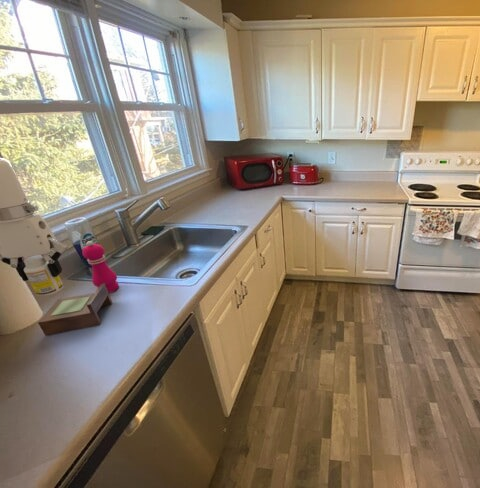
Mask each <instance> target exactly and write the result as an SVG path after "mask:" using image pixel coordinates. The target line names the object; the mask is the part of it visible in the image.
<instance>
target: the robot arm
mask: <svg viewBox="0 0 480 488" xmlns="http://www.w3.org/2000/svg"><path fill="white" fill-rule="evenodd" d="M37 211H39V206H38V205H37V204H35V205H33V204H32V203H31V202H30V201H29V198H28V196H27V194H26V192H25V191H24V188H23V186H22V184H21V182H20V180H19V177H18V175H17V174H16V171H15V169H14V167H13V165H12V163H11V162H10V161H9V160H8V159H6V158H3V157H0V261H1V262H2V263H4V264H5V265H6V264H7V265H8V266H10V267H11V268H12V269H15V270H16V272H17V274H18V275H19V277H20V278H21V280H22V281H23V282H27V281H29V279H28V278H27V276H26V274H25V272H24V268H25V267H26V265H25V263H24V260H25V259H24V258H27V257H32V256H36V255H41V256H42V257H43V258H44V259H45V260H46V261H47V262H49V263H48V264H47V266H48V268H49V270H50V272H51V274H52V276H53V277H57V276H58V275H60V274H61V273H63V268H62V266H61V264H60V261H59V259H60V257H61V256H62V255H63V253H64V252H65V251H66V250H67V249H68V245H66V244H64V243H63V242H61V241H58V240H57V238H56V236H55V234H54V232H53V231H52V229H51V227H50V225H49V224H48V223H47V221H46V220H45V219H44V217H43V216H42V215H41V214H40V213H39V212H37ZM54 248H55V249H56V251H55V250H54Z"/></svg>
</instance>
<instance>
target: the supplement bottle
mask: <svg viewBox="0 0 480 488" xmlns="http://www.w3.org/2000/svg"><path fill="white" fill-rule="evenodd" d="M24 263H25V265H26V267H25V268H24V272H25V274H26V276H27V278H28V281H29V283H30V285H31V287H32V288H33V290H34V292H35V294H36V295H37V296H39V297H47V296H50V295H54V294H56V293H58V292H60V291H61V290H63V288H64V283H63V282H62V279H61V277H60V276H59V275H60V274H59V275H58V276H57V277H53V276H52V274H51V272H50V270H49V268H48V266H47V264H48V263H49V262H47V261H46V260H45V259H44V258H43V257H42V256H41V255H35V256H28V257H26V258H25V259H24Z"/></svg>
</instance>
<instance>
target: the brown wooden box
mask: <svg viewBox="0 0 480 488" xmlns="http://www.w3.org/2000/svg"><path fill="white" fill-rule="evenodd" d="M97 288H98V287H97ZM112 304H113V301H112V298H111V296H110V293H108V291H107V288H106V286H105V284H101V285H100V287H99V288H98V289H96V291H95V292H92V293H86V294H80V295H74V296H69V297H68V296H67V297H64V298H63V297H61V298H58V299H57V300H56V301H55V302H54V303H53V304H52V306H51V307H49V309H48V310H47V311H46V312H45V314H44V315H43V316H42V317H41V318H40V319H39V321H38V322H37V324H38V325H39V327H40V329H41V331H42V332H43V334H44V336H50V335H55V334H61V333H66V332H70V331H76V330H80V329H86V328H90V327H96V326H100V325H101V324H102V321H101V319H100V316H99V314H98V312H99V310H100V309H101V307H105V306H110V305H112Z"/></svg>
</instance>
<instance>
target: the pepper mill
mask: <svg viewBox="0 0 480 488" xmlns="http://www.w3.org/2000/svg"><path fill="white" fill-rule="evenodd" d="M81 253H82V256H83V257H84V258H85V259H86V261H87V262H88V264H89V265H90V266H91V268H92V277H91V281H92V284H93V285H94V286H95V287H97V288H96V290H98V288H99V287H100V285H101V284H105V286H106V288H107V291H108V293H109V294H110V293H113V292H115V291H117V289H119V287H120V285H119V282H118V281H117V280H118V276H117V273H116V272H115V271H114V270H113V269H111V268H110V267H109V266H108V264H107V262H106V256H105V255H104V254H105V248H104V247H103V246H102V245H101V244H97V243H94V242H93V241H92V240H89V241H87V242H86V246H85V247H84V248H83V249H82V252H81Z"/></svg>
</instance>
